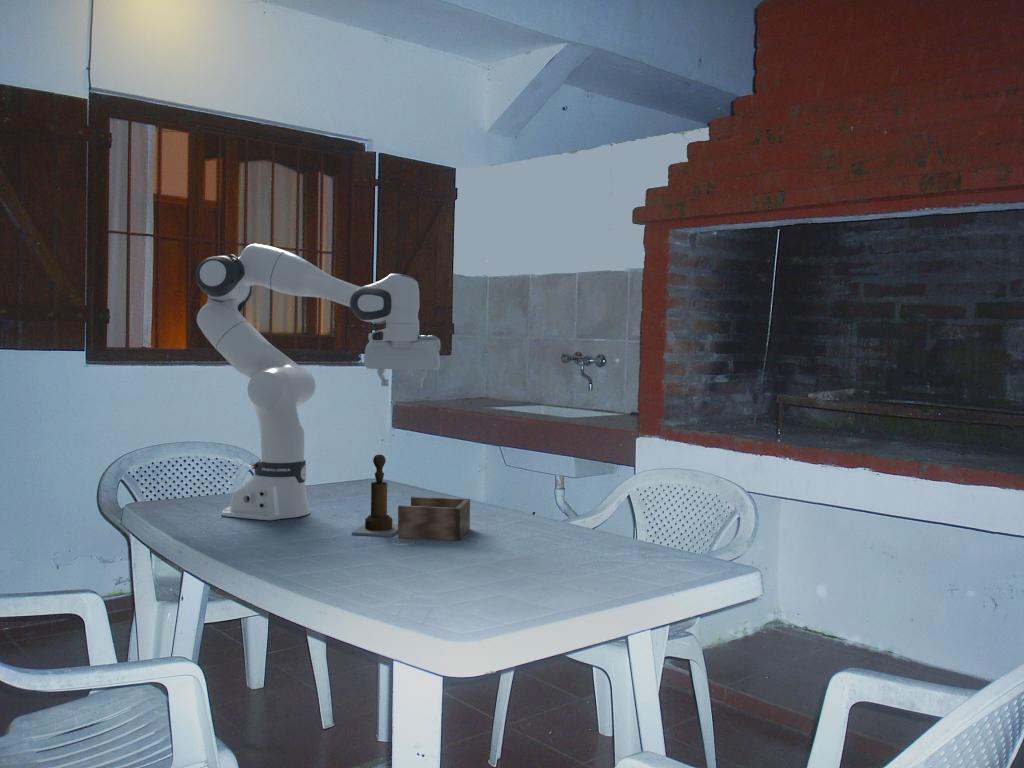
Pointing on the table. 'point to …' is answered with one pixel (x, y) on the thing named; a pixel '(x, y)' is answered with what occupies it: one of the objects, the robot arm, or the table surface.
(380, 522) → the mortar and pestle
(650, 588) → the table surface
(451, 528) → the walnut bay
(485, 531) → the table surface
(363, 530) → the grey rubber mat
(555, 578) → the table surface
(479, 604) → the table surface
